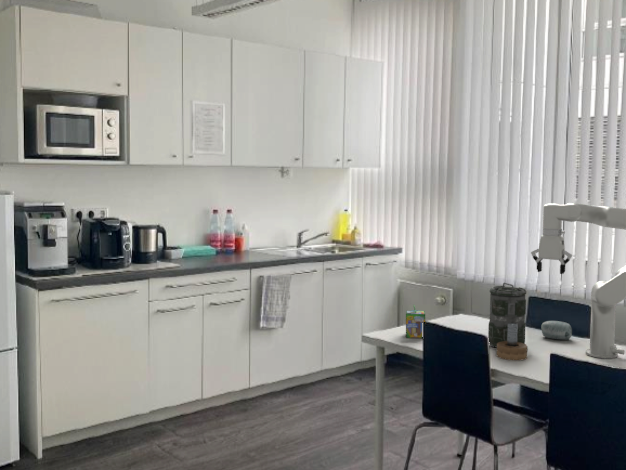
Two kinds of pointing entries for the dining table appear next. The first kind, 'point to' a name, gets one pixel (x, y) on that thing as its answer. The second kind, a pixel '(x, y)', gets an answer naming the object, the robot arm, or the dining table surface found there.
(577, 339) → the dining table surface
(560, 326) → the grey-green rounded cylinder
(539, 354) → the dining table surface
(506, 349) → the brown round short cylinder
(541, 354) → the dining table surface
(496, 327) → the canister
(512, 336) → the pin
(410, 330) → the chalk box
